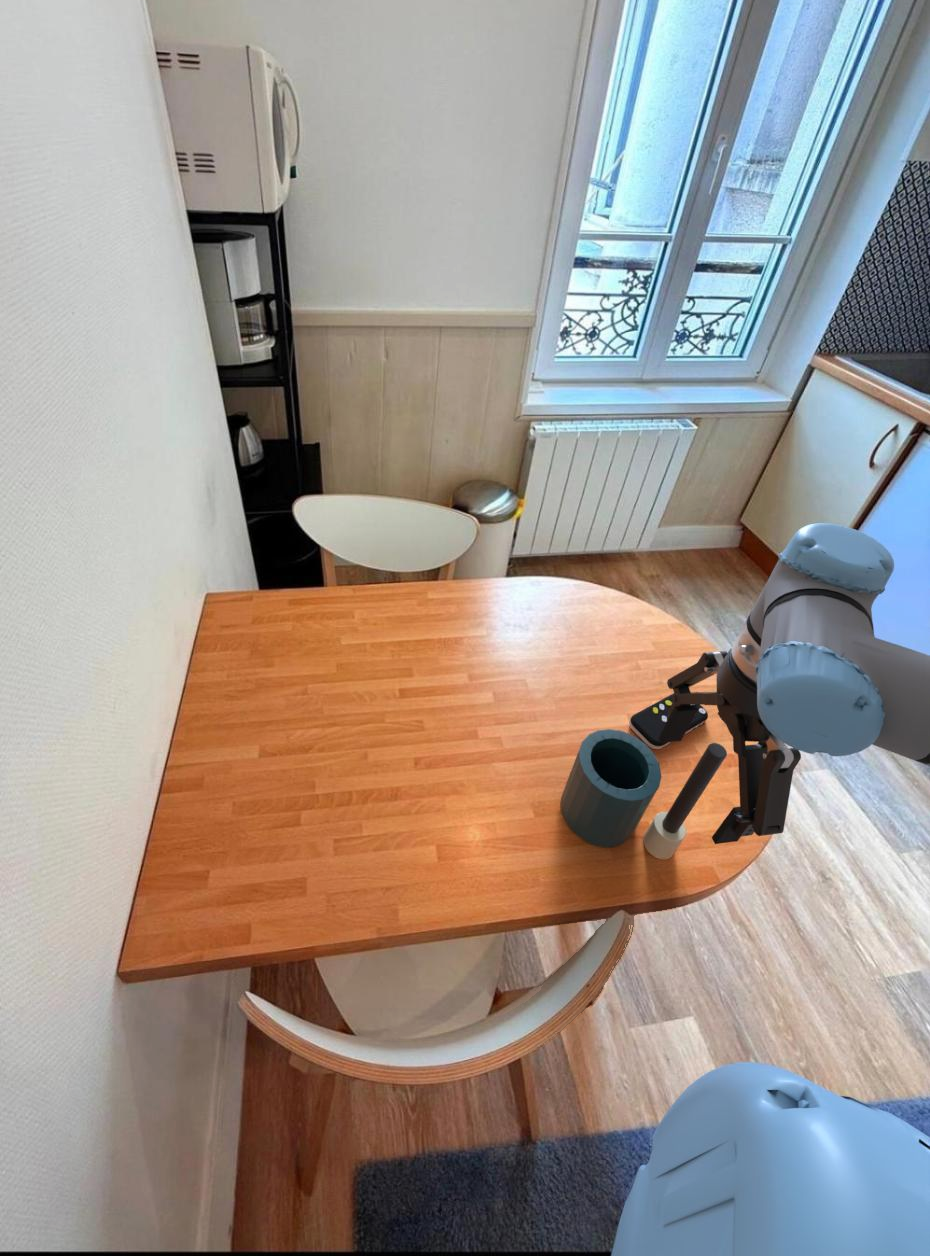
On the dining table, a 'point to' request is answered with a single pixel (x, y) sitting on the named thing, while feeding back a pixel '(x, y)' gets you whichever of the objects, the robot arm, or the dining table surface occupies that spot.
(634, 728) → the remote control
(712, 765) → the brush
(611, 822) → the jar
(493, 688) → the dining table surface
